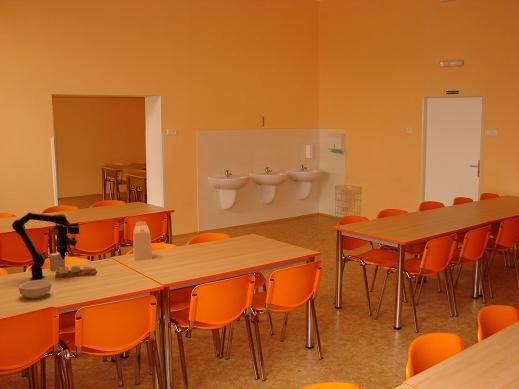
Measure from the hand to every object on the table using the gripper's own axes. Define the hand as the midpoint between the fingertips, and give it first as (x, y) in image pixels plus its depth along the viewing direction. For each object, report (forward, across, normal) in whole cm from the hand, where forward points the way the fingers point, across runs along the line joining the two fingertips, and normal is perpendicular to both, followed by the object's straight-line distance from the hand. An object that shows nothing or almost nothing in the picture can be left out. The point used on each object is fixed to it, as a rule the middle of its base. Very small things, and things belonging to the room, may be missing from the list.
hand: (63, 259), depth 345 cm
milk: (+10, +30, -50) cm, 60 cm away
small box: (+11, +19, +6) cm, 23 cm away
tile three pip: (+9, 0, -14) cm, 17 cm away
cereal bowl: (+11, -38, +12) cm, 42 cm away
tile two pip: (+8, 0, -7) cm, 11 cm away
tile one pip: (+8, 0, 0) cm, 8 cm away
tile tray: (+11, 0, -7) cm, 13 cm away
